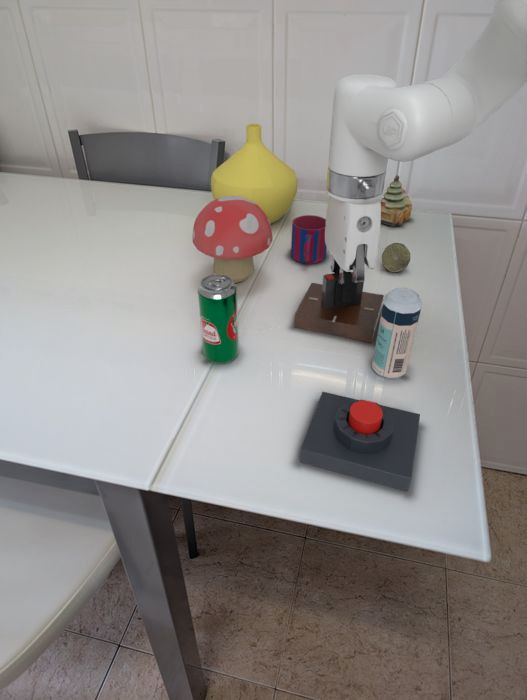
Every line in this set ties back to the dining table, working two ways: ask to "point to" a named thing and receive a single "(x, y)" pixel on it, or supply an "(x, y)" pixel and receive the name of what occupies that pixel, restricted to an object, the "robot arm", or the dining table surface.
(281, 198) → the vase
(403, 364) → the beer can
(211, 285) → the soda can
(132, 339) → the dining table surface
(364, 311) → the knob panel
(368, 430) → the button
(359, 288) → the dark upright slab
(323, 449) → the button box
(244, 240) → the decorative mushroom
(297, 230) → the cup
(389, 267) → the lime
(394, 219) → the ornament
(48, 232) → the dining table surface
